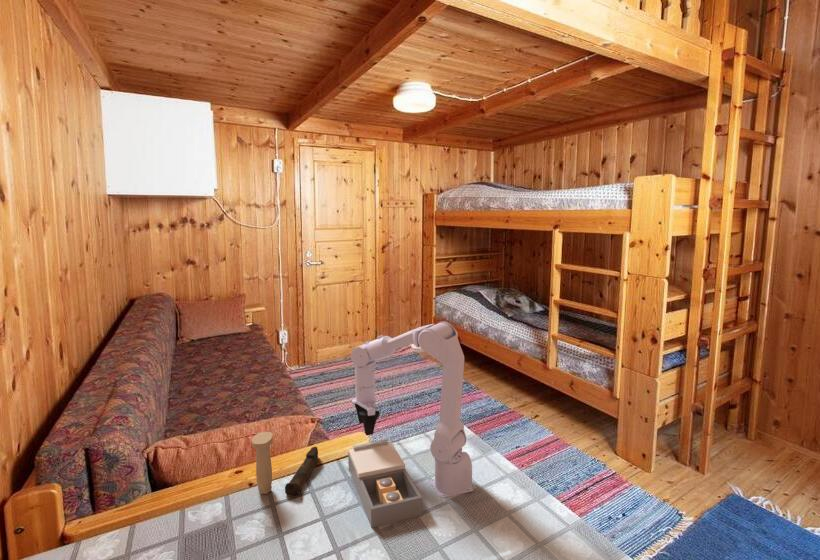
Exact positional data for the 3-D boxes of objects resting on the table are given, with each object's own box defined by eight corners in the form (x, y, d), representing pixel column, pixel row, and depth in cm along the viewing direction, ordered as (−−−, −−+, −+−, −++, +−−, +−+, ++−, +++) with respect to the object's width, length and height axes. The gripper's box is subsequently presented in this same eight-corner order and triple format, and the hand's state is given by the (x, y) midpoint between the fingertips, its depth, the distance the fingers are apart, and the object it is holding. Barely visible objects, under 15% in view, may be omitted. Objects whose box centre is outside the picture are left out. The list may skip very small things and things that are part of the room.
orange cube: (395, 500, 108) (395, 484, 107) (380, 503, 107) (380, 487, 106) (391, 491, 112) (390, 475, 111) (376, 494, 110) (376, 478, 110)
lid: (390, 445, 125) (390, 438, 125) (405, 468, 114) (405, 461, 113) (348, 453, 121) (348, 446, 121) (358, 478, 109) (358, 470, 109)
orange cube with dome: (398, 505, 106) (398, 489, 106) (403, 515, 102) (403, 498, 102) (382, 508, 105) (382, 492, 104) (387, 519, 101) (387, 502, 100)
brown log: (299, 499, 110) (298, 482, 109) (284, 497, 111) (284, 480, 110) (326, 459, 128) (325, 444, 128) (313, 457, 129) (313, 443, 128)
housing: (390, 461, 126) (390, 445, 126) (422, 516, 103) (422, 497, 102) (348, 469, 122) (348, 452, 122) (371, 529, 98) (371, 509, 98)
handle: (252, 499, 109) (249, 444, 107) (259, 484, 115) (256, 432, 113) (271, 498, 110) (268, 443, 107) (277, 483, 116) (274, 431, 114)
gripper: (346, 377, 131) (347, 419, 132) (357, 395, 117) (358, 442, 119) (369, 374, 133) (369, 416, 135) (382, 392, 119) (382, 438, 121)
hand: (365, 428), depth 127 cm, fingers open, 7 cm apart
